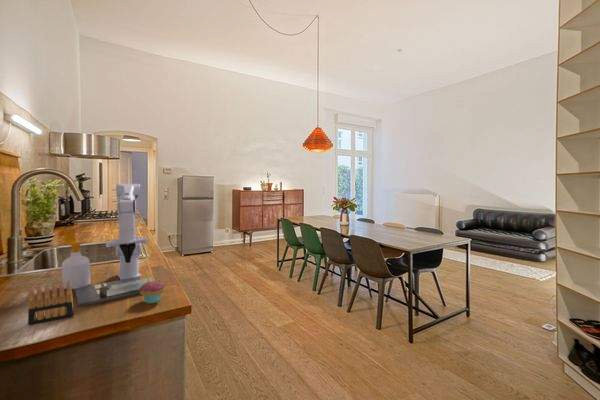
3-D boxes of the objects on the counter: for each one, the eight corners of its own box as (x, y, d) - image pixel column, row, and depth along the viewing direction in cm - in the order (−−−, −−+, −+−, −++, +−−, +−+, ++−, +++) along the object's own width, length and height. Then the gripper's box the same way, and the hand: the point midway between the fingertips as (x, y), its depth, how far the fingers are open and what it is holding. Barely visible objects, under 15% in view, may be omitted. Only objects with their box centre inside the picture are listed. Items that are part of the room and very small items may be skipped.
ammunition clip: (73, 314, 93) (72, 278, 92) (73, 317, 91) (72, 280, 91) (29, 323, 87) (27, 285, 86) (27, 326, 85) (26, 287, 85)
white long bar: (150, 283, 117) (150, 276, 117) (153, 286, 115) (153, 279, 114) (98, 295, 105) (98, 287, 105) (100, 298, 102) (100, 290, 102)
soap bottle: (75, 290, 112) (73, 229, 111) (56, 288, 114) (54, 228, 113) (95, 283, 121) (94, 225, 120) (78, 281, 123) (76, 224, 121)
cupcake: (136, 306, 100) (135, 273, 99) (142, 297, 108) (142, 266, 107) (163, 304, 102) (162, 271, 101) (167, 295, 110) (167, 264, 109)
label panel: (74, 291, 112) (74, 287, 112) (137, 279, 126) (137, 276, 126) (78, 307, 98) (78, 302, 98) (148, 291, 113) (148, 288, 113)
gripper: (107, 232, 108) (108, 267, 109) (149, 228, 118) (149, 261, 118) (104, 230, 114) (105, 263, 114) (145, 226, 123) (145, 257, 124)
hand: (127, 262), depth 117 cm, fingers closed
